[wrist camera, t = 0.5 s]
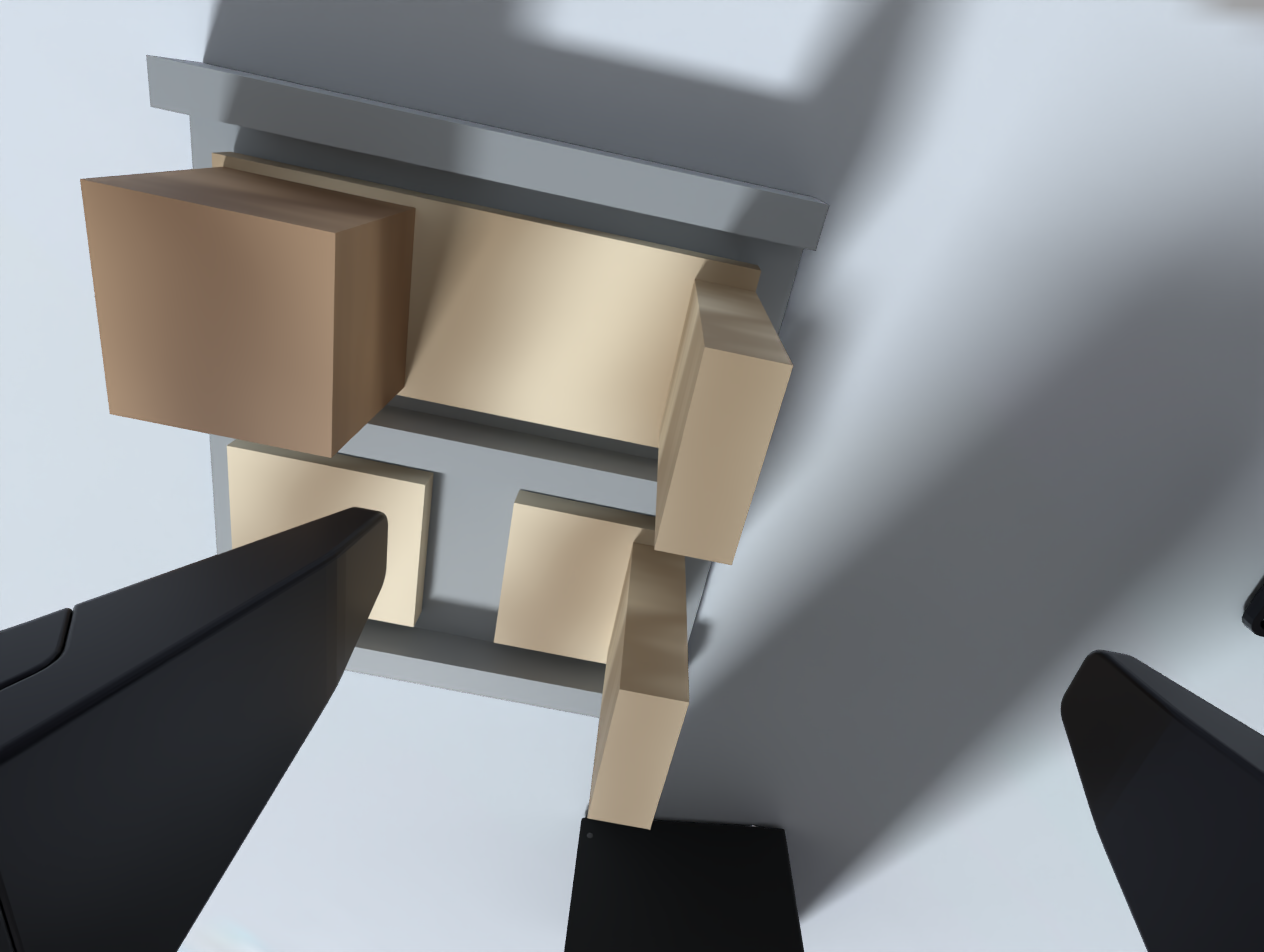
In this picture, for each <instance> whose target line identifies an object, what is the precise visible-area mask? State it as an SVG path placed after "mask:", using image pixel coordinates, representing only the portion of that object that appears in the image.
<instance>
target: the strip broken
mask: <svg viewBox="0 0 1264 952" xmlns="http://www.w3.org/2000/svg"><path fill="white" fill-rule="evenodd" d="M227 461H228V480H229V499H230V519H231V538H232V549H235V548H237V547H240V546H243V545H246V544H249V543H252V542H254V541H257V540H260V539H263V538H266V537H269V536H271V535H274V534H277V533H280V532H283V531H286V530H288V529H291V528H294V527H297V526H300V525H302V524H305V523H308V522H311V521H314V520H317V519H319V518H322V517H325V516H328V515H331V514H334V513H336V512H339V511H342V510H345V509H348V508H351V507H360V508H365V509H370V510H376V511H380V512H383V513H384V514H385V515H386V516H387V519H388V545H387V568H386V575H385V580H384V583H383V586H382V588H381V591H380V593H379V595H378V597H377V600H376V602H375V604H374V606H373V608H372V611H371V613H370V615H369V617H368V619H373V620H378V621H383V622H389V623H394V624H399V625H404V626H410V627H414V625H415V623H416V621H417V619H418V618H419V616H420V614H421V612H422V601H423V590H424V578H425V567H426V555H427V544H428V532H429V521H430V509H431V498H432V487H433V475H434V473H432V472H427V471H422V470H417V469H412V468H407V467H402V466H397V465H392V464H387V463H382V462H377V461H372V460H367V459H362V458H357V457H352V456H347V455H342V454H337V453H336V454H335V455H334V456H333V457H332V458H329V457H324V456H319V455H314V454H309V453H304V452H299V451H294V450H289V449H284V448H279V447H274V446H268V445H263V444H258V443H253V442H248V441H243V440H238V439H235V440H234V441H233V442H231V443H230V444H228V445H227ZM655 521H656V517H653V516H648V515H643V514H638V513H633V512H628V511H623V510H618V509H613V508H608V507H603V506H598V505H593V504H588V503H583V502H578V501H573V500H568V499H563V498H558V497H553V496H548V495H543V494H538V493H533V492H528V491H523V490H519V492H518V494H517V497H516V499H515V501H514V506H513V513H512V520H511V527H510V533H509V540H508V547H507V554H506V561H505V568H504V575H503V582H502V589H501V596H500V603H499V610H498V616H497V623H496V630H495V637H494V643H499V644H504V645H509V646H515V647H520V648H525V649H530V650H536V651H541V652H546V653H551V654H557V655H562V656H567V657H572V658H578V659H583V660H588V661H593V662H599V663H604V664H606V670H605V678H604V686H603V694H602V702H601V710H600V718H599V726H598V735H597V743H596V751H595V759H594V767H593V775H592V783H591V792H590V800H589V808H588V816H587V818H589V819H594V820H600V821H605V822H611V823H616V824H622V825H627V826H633V827H638V828H644V829H649V830H650V828H651V825H652V822H653V819H654V815H655V812H656V809H657V806H658V802H659V799H660V796H661V793H662V789H663V786H664V783H665V780H666V776H667V773H668V770H669V767H670V763H671V760H672V757H673V754H674V750H675V747H676V744H677V741H678V737H679V734H680V731H681V728H682V724H683V721H684V718H685V715H686V712H687V708H688V705H689V677H688V643H687V610H686V576H685V556H683V555H678V554H673V553H668V552H663V551H658V550H654V544H655Z"/></svg>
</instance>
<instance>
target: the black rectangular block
mask: <svg viewBox="0 0 1264 952" xmlns="http://www.w3.org/2000/svg"><path fill="white" fill-rule="evenodd" d="M580 827H581V828H580V834H579V835H580V836H579V842H578V849H577V850H578V851H577V857H576V858H577V859H576V865H575V872H574V873H575V874H574V880H573V881H574V882H573V888H572V895H571V896H572V897H571V903H570V904H571V905H570V911H569V918H568V919H569V920H568V926H567V927H568V928H567V934H566V941H565V942H566V943H565V949H564V950H565V951H564V952H804V948H803V941H802V935H801V929H800V923H799V917H798V910H797V904H796V898H795V892H794V885H793V879H792V873H791V867H790V861H789V854H788V848H787V842H786V836H785V830H784V829H772V828H764V827H757V826H755V825H751V826H739V825H722V824H705V823H689V822H672V821H655V820H653V822H652V825H651V828H650V830H649V829H644V828H638V827H633V826H627V825H622V824H616V823H611V822H605V821H600V820H594V819H589V818H587V817H586V818H582V820H581V826H580Z"/></svg>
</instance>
